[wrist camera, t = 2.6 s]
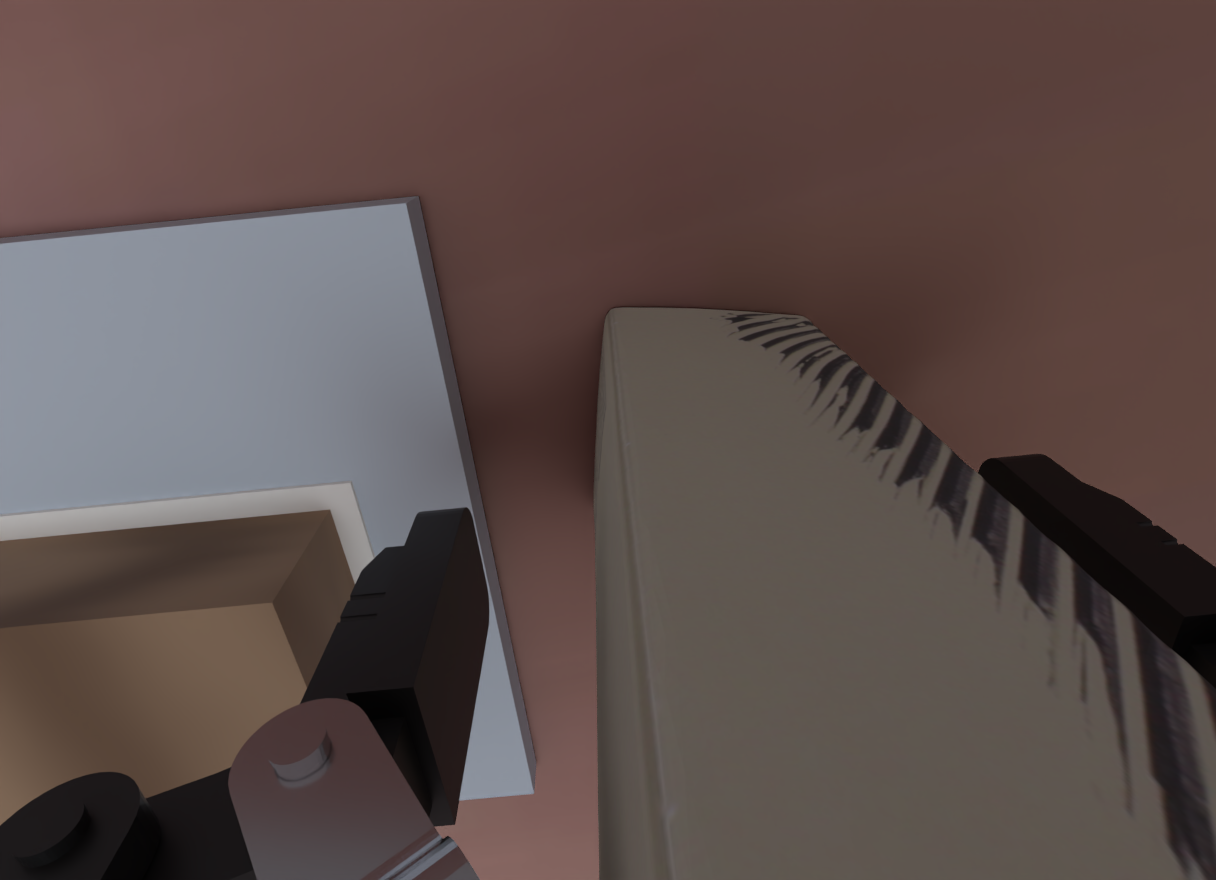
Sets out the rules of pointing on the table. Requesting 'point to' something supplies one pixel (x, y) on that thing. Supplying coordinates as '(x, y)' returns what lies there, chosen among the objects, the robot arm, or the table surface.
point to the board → (248, 398)
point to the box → (857, 641)
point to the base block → (158, 646)
